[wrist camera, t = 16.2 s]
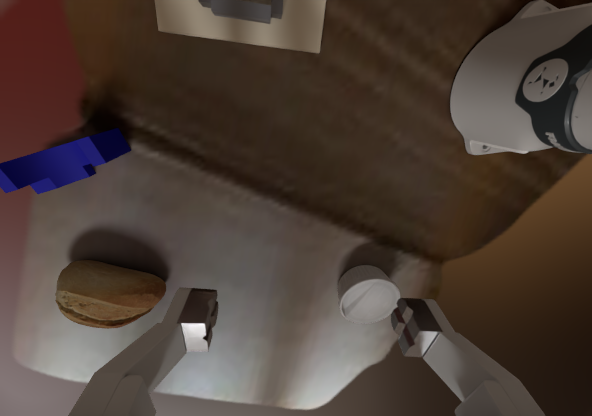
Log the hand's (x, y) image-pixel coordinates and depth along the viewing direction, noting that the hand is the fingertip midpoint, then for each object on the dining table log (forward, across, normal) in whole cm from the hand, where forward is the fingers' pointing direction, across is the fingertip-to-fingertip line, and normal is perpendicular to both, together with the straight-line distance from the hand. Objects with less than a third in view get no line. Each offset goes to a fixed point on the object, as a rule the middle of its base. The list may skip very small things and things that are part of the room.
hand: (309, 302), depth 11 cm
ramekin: (+26, -16, +26) cm, 41 cm away
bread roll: (+24, +26, +25) cm, 44 cm away
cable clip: (+25, +27, +5) cm, 38 cm away
